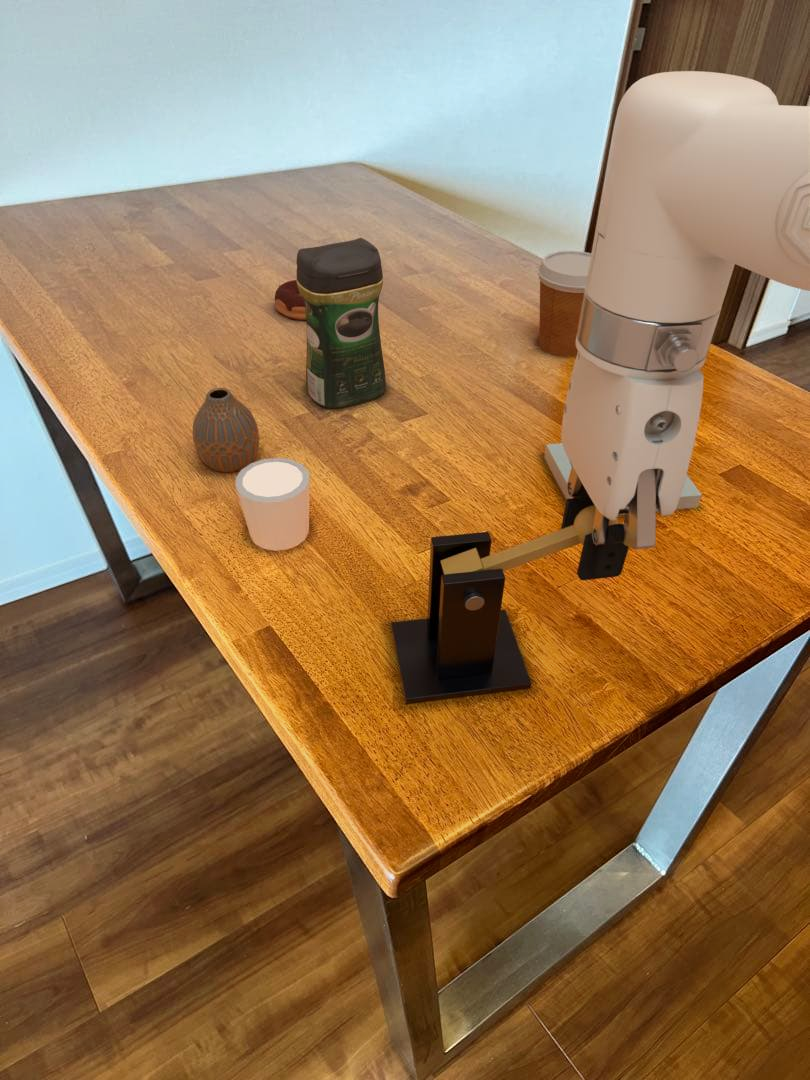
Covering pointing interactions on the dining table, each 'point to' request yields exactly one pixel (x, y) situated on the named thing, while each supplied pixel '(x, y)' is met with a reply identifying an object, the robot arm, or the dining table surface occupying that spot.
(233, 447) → the vase
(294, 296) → the donut
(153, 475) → the dining table surface
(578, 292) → the disposable coffee cup
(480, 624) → the lever bracket
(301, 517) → the pale pink cup
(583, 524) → the flush lever
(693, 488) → the square base plate
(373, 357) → the coffee jar
